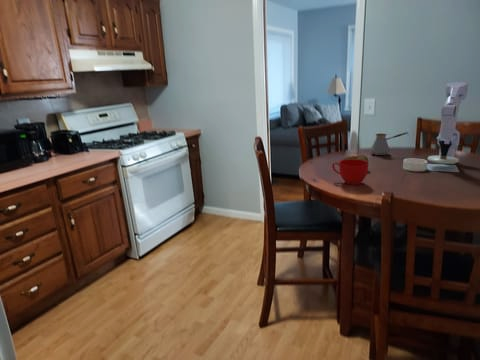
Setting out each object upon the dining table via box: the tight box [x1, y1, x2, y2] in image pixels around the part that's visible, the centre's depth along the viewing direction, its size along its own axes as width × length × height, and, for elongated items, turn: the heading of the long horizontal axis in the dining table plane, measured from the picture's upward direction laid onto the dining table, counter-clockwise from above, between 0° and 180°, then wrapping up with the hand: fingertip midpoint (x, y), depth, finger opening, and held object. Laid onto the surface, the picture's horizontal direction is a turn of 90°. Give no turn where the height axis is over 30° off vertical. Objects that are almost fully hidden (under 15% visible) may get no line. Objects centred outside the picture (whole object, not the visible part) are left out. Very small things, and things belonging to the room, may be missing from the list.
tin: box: [342, 154, 369, 163], centre depth 180 cm, size 15×3×8 cm, turn 105°
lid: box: [427, 154, 460, 164], centre depth 176 cm, size 14×14×4 cm
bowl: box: [402, 157, 428, 172], centre depth 178 cm, size 11×11×4 cm
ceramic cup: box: [331, 159, 369, 186], centre depth 161 cm, size 13×17×10 cm
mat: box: [426, 163, 460, 173], centre depth 178 cm, size 14×14×1 cm
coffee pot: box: [370, 131, 409, 156], centre depth 209 cm, size 21×12×15 cm, turn 52°
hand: (443, 155), depth 176 cm, fingers closed on lid, 3 cm apart
